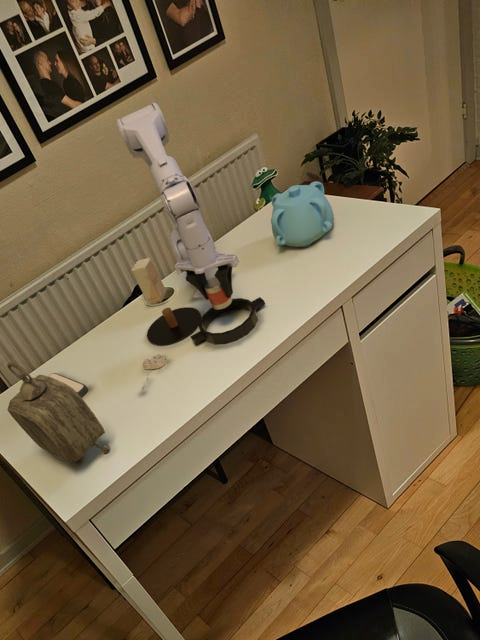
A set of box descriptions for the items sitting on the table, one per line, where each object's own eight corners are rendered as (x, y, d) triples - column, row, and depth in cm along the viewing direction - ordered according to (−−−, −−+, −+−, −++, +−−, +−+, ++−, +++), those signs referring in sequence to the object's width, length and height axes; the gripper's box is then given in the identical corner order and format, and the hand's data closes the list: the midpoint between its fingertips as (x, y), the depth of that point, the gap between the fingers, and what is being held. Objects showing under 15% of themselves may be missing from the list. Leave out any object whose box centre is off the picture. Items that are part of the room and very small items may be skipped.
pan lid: (141, 331, 140) (131, 313, 137) (190, 303, 142) (182, 285, 138) (158, 356, 130) (148, 337, 126) (211, 326, 131) (202, 307, 128)
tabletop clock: (119, 448, 111) (51, 355, 94) (88, 481, 107) (12, 390, 90) (78, 430, 120) (10, 342, 103) (48, 460, 116) (-28, 374, 99)
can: (216, 297, 126) (208, 276, 122) (235, 295, 124) (227, 274, 120) (209, 310, 123) (200, 289, 120) (228, 309, 121) (219, 287, 117)
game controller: (168, 355, 129) (163, 347, 127) (165, 387, 120) (161, 378, 119) (146, 362, 130) (141, 353, 128) (142, 394, 122) (137, 385, 120)
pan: (186, 335, 132) (181, 324, 130) (252, 297, 134) (248, 286, 132) (206, 360, 122) (201, 349, 120) (278, 319, 124) (274, 307, 122)
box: (162, 303, 147) (144, 267, 140) (148, 305, 149) (130, 270, 141) (167, 292, 150) (150, 256, 143) (154, 294, 152) (136, 259, 145)
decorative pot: (280, 228, 155) (266, 181, 146) (336, 214, 149) (325, 165, 140) (274, 258, 144) (258, 210, 135) (334, 244, 139) (322, 193, 130)
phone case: (30, 398, 136) (63, 415, 126) (26, 394, 135) (59, 410, 125) (56, 375, 139) (90, 389, 129) (53, 371, 138) (87, 384, 128)
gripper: (160, 256, 114) (185, 309, 123) (221, 248, 108) (242, 304, 117) (173, 238, 118) (196, 290, 127) (232, 229, 112) (252, 285, 121)
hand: (219, 296), depth 122 cm, fingers closed on can, 5 cm apart
